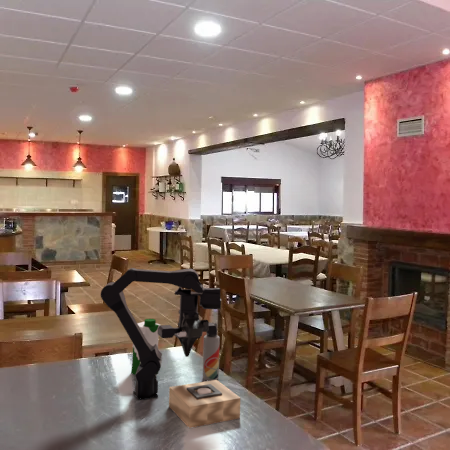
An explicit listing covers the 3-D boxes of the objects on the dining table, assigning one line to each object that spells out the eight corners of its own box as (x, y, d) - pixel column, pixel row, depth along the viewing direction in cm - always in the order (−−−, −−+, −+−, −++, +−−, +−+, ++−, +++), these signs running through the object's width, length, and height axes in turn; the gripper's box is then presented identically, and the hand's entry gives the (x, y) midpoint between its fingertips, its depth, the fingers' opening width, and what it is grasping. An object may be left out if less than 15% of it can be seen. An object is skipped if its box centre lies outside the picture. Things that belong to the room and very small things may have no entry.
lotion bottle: (216, 381, 171) (218, 325, 170) (200, 380, 172) (202, 324, 171) (220, 376, 176) (221, 321, 175) (204, 375, 177) (206, 320, 177)
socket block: (189, 428, 135) (189, 404, 134) (169, 406, 149) (169, 385, 149) (239, 418, 142) (240, 395, 142) (216, 398, 156) (216, 378, 156)
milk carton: (144, 379, 171) (146, 323, 171) (127, 373, 177) (128, 319, 176) (162, 372, 178) (163, 318, 178) (144, 367, 184) (145, 315, 183)
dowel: (200, 412, 143) (200, 393, 142) (194, 407, 146) (195, 389, 146) (212, 410, 145) (213, 391, 144) (207, 405, 148) (207, 387, 148)
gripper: (168, 315, 146) (166, 367, 146) (225, 312, 153) (223, 361, 154) (157, 307, 156) (156, 356, 156) (211, 305, 163) (209, 351, 164)
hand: (186, 356), depth 157 cm, fingers closed
